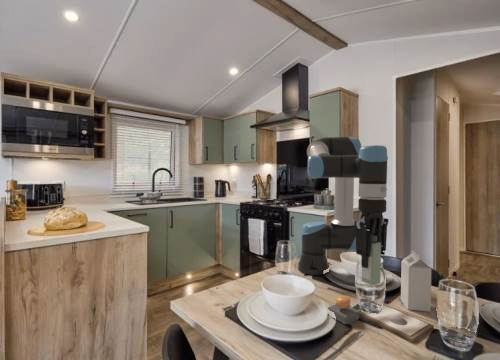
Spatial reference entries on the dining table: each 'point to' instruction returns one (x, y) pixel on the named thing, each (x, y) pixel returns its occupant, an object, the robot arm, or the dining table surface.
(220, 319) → the dining table surface
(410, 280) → the milk carton
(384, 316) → the wooden tray
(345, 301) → the button
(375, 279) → the green tall block
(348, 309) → the button base
